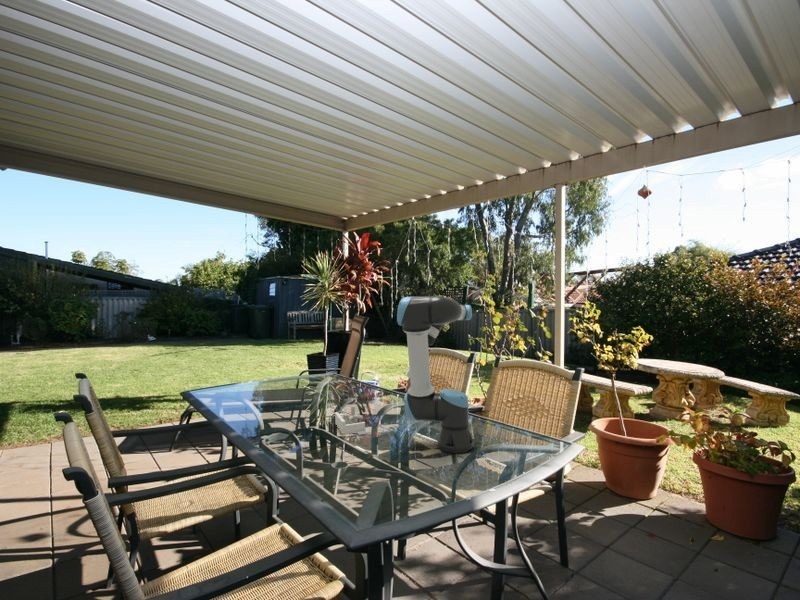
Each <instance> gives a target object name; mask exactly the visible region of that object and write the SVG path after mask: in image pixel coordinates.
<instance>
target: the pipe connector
mask: <svg viewBox="0 0 800 600" xmlns="http://www.w3.org/2000/svg"><path fill="white" fill-rule="evenodd" d="M350 411H351V413H343V415H342V416H343V417H344V418H347V421H348V422H349V421H351V420H352V423H351V424H353V423H356V422H355V419H357V420H363V419H364V415H363V414H362V415H361V414H360V412H359V411H357V412H356V406H355V405H352V406H350Z"/></svg>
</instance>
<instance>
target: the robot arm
mask: <svg viewBox="0 0 800 600" xmlns="http://www.w3.org/2000/svg"><path fill="white" fill-rule="evenodd" d="M396 313H397V314H396V322H397V324H398V326H402V331H403V332H404V333H405V334H406V341H407V342H406V343H407V353H408V354H407V355H408V364H409V365H408V369H407V370H406V373H405V374H404V376H406V377H408V378H409V379H410V380H409V381H410V387H408V389H407V392H406V393H405V394H404V397H403V401H404V402H403V405H404V411H405V415H406V417H407V418H408V419H409V420H410V421H411V420H412V421H417V422H420V421H421V422H423V421H424V422H439V423H440V431H439V434H438V438H437V440H436V441H437V442H436V443H437V449H439V450H440V451H442V452H446V453H451V454H462V453H467V451H468V452H470V451H471V450H470V449H471V448H472V447H473V448H474V440H473V437H472V434H471V431H470V427H469V426H470V425H469V423H470V422H469V407H470V405H469V404H470V403H469V397H468V395H467V394H466V393H464V392H463V391H460V390H457V389H451V388H449V389H448V388H447V389H445V388H444V389H441V390H440V392H438V393H437V392H436V389H435V387H434V386H433V385H432V382H431V379H432V378H431V367H430V365H431V364H430V356H429V355H430V352H431V349H429V348H430V346H433V345H434V343H435V342H436V339H437V337H438V336H439V335H440V334H439V333H440V332H441V329H442V327H443V326H444V325H445V324H448V323H449V324H450V323H454V322H456V321H471V320H472V316H473V314H472V313H473V312H472V306H471V304H460V303H459V302H458V301H457V300H455V299H452V298H449V297H444V296H440V295H433V296H432V295H431V296H427V295H426V296H420V295H419V296H417V295H416V296H404V297H402V298H401V299H400V301H399V303H398V306H397V312H396ZM469 450H470V451H469Z"/></svg>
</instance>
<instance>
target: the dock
mask: <svg viewBox="0 0 800 600" xmlns="http://www.w3.org/2000/svg"><path fill="white" fill-rule="evenodd" d="M334 414H335V415H334V416H335V418H334V419H335V426H336V425H337V426H336V427H337V429H338V428H339V429H338V430H339V432H340V431H341V432H340V433H341V435H348V434H357V435H358V437H359V436H360V437H361V436H366V435H368V432H367V431H366V422H365V421H360V422H358V421H359V420H358V419H355V423H353V424H352V420H351V421H349V422H348V421H347V418H344V417H343V415H341V414H340V413H339V411H336V412H334Z"/></svg>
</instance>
